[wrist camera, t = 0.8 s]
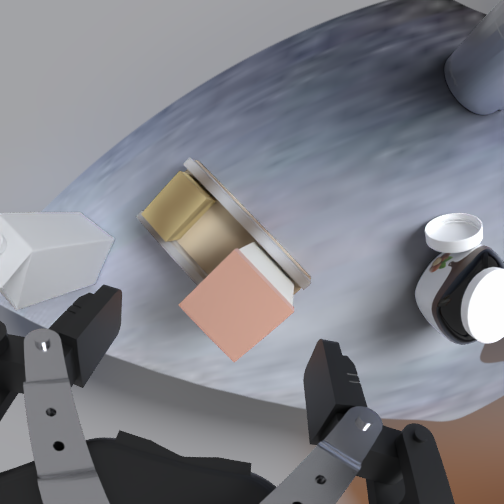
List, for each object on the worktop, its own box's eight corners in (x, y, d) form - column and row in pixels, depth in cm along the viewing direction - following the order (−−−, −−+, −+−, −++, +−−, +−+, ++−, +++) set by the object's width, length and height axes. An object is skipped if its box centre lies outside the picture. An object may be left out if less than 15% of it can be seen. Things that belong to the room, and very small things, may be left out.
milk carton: (96, 284, 39) (-12, 321, 21) (62, 255, 40) (-44, 276, 21) (116, 238, 38) (1, 255, 19) (80, 211, 39) (-33, 213, 20)
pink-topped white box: (214, 279, 35) (178, 304, 24) (254, 239, 34) (234, 249, 23) (253, 320, 35) (234, 362, 24) (295, 282, 34) (293, 312, 23)
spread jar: (433, 333, 34) (476, 372, 22) (379, 268, 34) (414, 290, 23) (494, 264, 32) (550, 280, 20) (446, 196, 32) (500, 189, 20)
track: (149, 217, 37) (126, 217, 32) (200, 162, 36) (183, 153, 30) (252, 328, 37) (244, 346, 31) (310, 276, 35) (312, 287, 30)
